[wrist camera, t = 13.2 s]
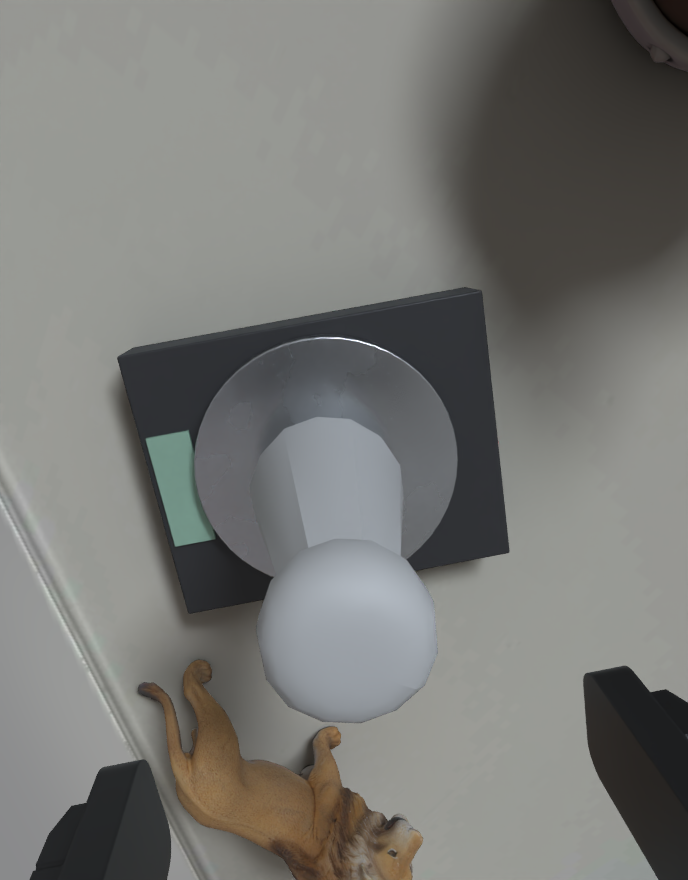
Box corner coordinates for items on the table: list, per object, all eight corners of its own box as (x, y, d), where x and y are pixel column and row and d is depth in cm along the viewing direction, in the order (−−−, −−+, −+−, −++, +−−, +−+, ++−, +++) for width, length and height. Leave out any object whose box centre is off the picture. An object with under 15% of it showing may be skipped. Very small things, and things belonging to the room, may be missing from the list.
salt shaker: (284, 553, 27) (275, 803, 15) (232, 433, 26) (172, 603, 13) (412, 506, 27) (510, 719, 15) (367, 382, 26) (435, 506, 13)
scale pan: (228, 599, 29) (226, 608, 28) (167, 360, 26) (163, 364, 25) (467, 553, 29) (472, 562, 28) (436, 311, 26) (440, 313, 25)
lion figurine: (414, 733, 35) (453, 891, 26) (370, 805, 36) (393, 979, 27) (159, 639, 32) (110, 781, 24) (121, 721, 33) (60, 884, 25)
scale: (196, 587, 31) (187, 617, 29) (131, 347, 28) (114, 357, 25) (494, 530, 32) (511, 555, 29) (466, 286, 28) (483, 290, 26)
